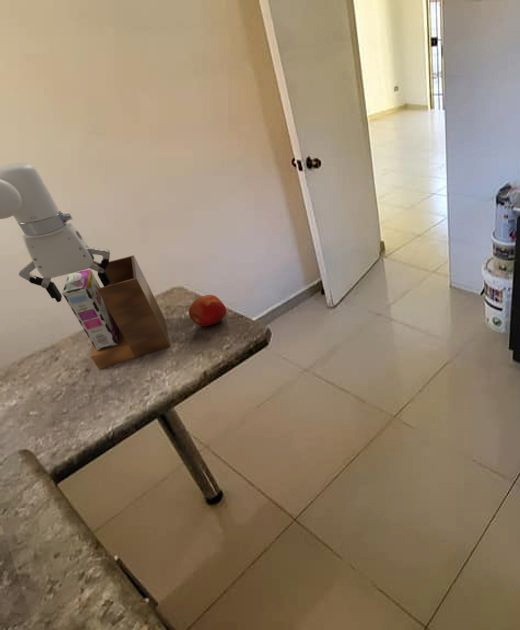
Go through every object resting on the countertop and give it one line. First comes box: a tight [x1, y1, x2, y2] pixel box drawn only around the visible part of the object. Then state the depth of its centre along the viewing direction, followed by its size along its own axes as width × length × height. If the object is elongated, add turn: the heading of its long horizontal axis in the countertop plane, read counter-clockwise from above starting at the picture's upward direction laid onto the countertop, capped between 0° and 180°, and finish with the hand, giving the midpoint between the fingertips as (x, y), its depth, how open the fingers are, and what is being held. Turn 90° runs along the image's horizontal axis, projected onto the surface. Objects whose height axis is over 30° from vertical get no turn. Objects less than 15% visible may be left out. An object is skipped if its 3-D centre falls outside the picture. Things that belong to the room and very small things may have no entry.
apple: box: [188, 294, 227, 327], centre depth 117 cm, size 8×8×8 cm
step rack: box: [90, 255, 171, 370], centre depth 108 cm, size 16×15×20 cm
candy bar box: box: [61, 268, 119, 351], centre depth 105 cm, size 11×5×16 cm, turn 29°
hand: (84, 292), depth 102 cm, fingers open, 9 cm apart
